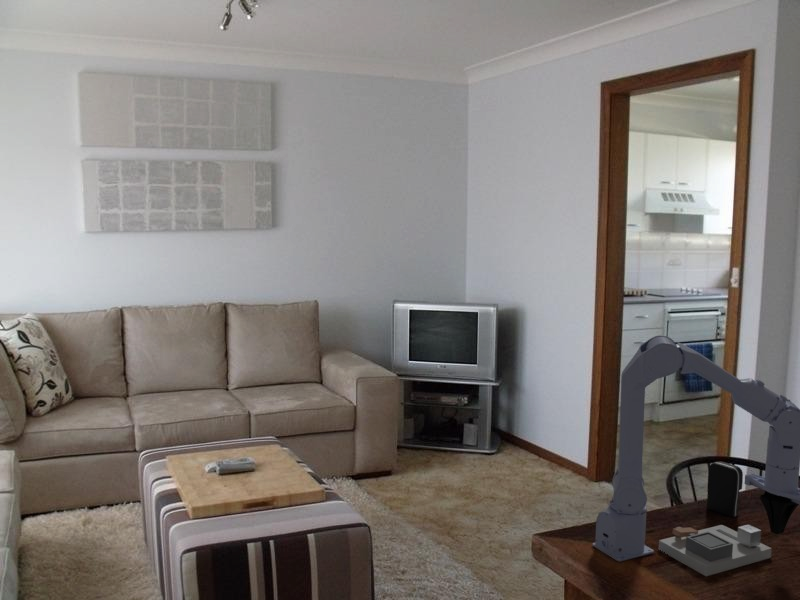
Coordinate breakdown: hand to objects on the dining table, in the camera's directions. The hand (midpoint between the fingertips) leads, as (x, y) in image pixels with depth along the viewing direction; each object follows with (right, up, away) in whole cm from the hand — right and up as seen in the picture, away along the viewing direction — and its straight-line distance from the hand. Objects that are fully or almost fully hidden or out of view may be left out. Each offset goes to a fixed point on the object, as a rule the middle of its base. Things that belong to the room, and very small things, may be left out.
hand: (777, 532), depth 143 cm
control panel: (-9, -6, +6) cm, 13 cm away
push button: (-12, -4, +3) cm, 13 cm away
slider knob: (-3, -4, +6) cm, 8 cm away
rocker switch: (-15, -2, +8) cm, 17 cm away
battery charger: (+1, -4, +27) cm, 27 cm away
